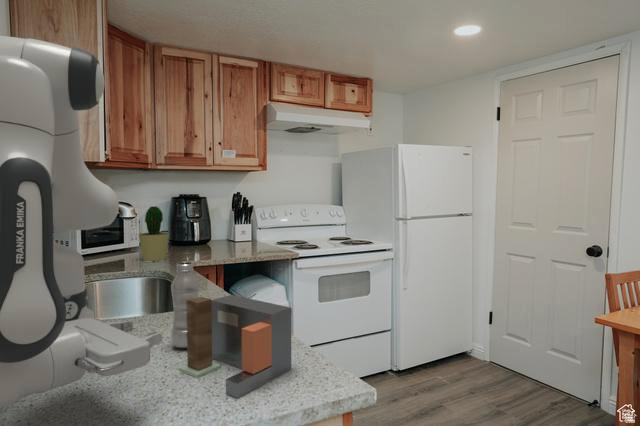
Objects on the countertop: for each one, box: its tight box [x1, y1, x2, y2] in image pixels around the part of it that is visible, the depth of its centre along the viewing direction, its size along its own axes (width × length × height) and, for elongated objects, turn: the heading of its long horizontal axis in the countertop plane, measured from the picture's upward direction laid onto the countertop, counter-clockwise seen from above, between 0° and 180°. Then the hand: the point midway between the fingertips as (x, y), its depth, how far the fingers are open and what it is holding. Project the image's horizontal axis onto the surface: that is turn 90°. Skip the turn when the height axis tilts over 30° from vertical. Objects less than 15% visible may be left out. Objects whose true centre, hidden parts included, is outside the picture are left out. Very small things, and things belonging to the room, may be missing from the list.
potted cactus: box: [138, 205, 170, 261], centre depth 221 cm, size 15×15×30 cm
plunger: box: [241, 322, 272, 374], centre depth 79 cm, size 3×5×8 cm, turn 144°
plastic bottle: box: [170, 261, 200, 349], centre depth 97 cm, size 6×7×20 cm
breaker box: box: [211, 294, 292, 399], centre depth 84 cm, size 18×15×13 cm
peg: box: [186, 296, 213, 371], centre depth 85 cm, size 4×4×14 cm
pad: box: [178, 361, 222, 379], centre depth 85 cm, size 6×6×1 cm
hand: (144, 330), depth 76 cm, fingers open, 8 cm apart
